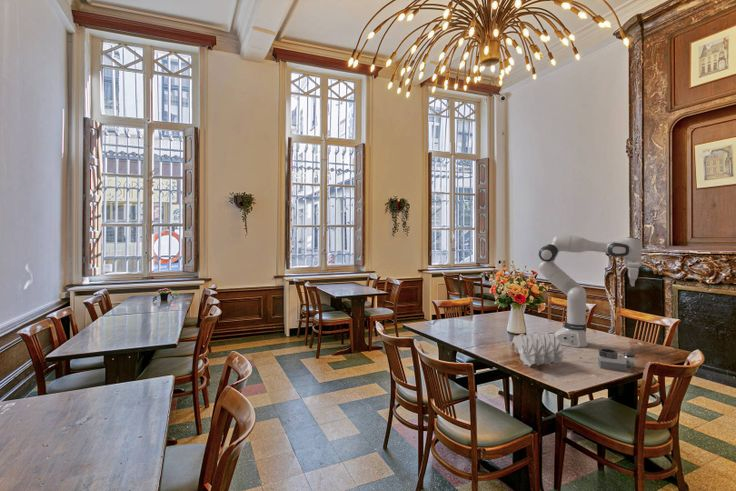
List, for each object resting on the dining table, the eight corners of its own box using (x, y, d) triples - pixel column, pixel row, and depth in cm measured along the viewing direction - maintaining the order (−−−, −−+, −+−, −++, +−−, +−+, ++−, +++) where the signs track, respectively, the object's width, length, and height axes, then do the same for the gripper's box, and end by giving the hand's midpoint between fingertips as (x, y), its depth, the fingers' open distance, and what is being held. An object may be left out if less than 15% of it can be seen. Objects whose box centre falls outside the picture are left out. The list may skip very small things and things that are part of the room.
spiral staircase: (561, 371, 216) (524, 373, 209) (541, 349, 231) (507, 351, 224) (574, 346, 208) (536, 348, 201) (553, 326, 224) (517, 326, 216)
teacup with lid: (524, 350, 242) (525, 332, 242) (533, 354, 233) (533, 335, 233) (507, 350, 240) (507, 332, 240) (514, 355, 231) (515, 336, 231)
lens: (624, 367, 213) (624, 354, 212) (622, 364, 218) (622, 352, 217) (635, 368, 210) (636, 356, 210) (633, 365, 215) (634, 353, 215)
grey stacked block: (599, 368, 211) (600, 352, 210) (597, 363, 219) (598, 347, 219) (626, 371, 206) (626, 355, 205) (623, 366, 214) (623, 350, 214)
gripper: (625, 261, 247) (624, 283, 248) (627, 263, 230) (626, 286, 230) (637, 262, 244) (636, 283, 244) (640, 264, 226) (639, 287, 227)
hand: (631, 285), depth 237 cm, fingers open, 8 cm apart
